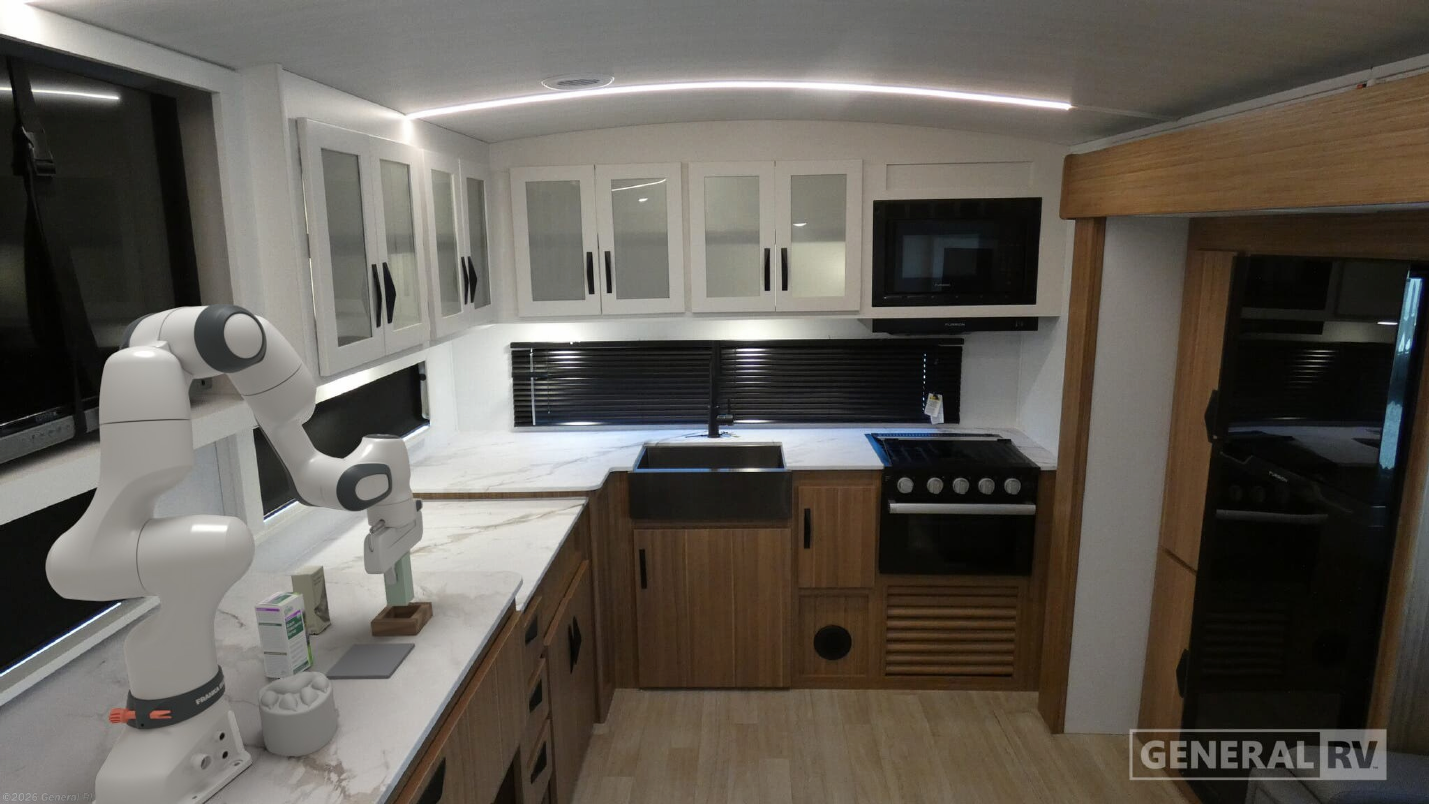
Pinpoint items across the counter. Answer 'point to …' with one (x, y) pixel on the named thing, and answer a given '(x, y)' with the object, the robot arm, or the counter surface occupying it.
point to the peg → (401, 584)
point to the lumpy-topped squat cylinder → (297, 714)
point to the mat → (370, 661)
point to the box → (313, 596)
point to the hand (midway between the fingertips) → (398, 577)
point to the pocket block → (402, 619)
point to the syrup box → (284, 634)
